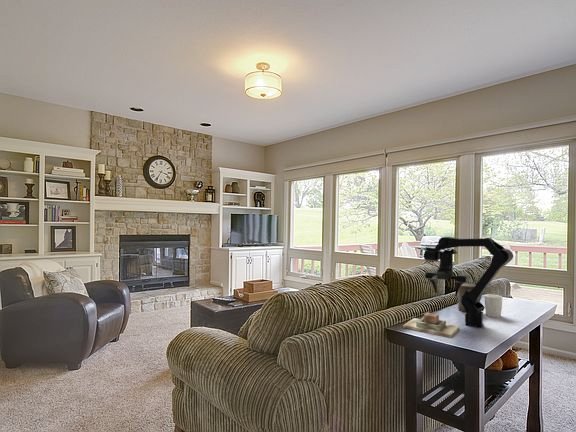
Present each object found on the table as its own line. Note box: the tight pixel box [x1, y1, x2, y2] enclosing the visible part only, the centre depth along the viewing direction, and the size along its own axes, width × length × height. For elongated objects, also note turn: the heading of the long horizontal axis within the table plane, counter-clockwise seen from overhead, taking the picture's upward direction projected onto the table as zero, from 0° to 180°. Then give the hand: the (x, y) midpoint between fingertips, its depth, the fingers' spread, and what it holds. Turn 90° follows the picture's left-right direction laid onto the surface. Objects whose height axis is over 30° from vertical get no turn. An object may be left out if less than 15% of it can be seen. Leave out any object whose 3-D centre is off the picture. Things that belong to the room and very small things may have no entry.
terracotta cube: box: [423, 311, 440, 325], centre depth 158 cm, size 5×5×5 cm
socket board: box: [402, 316, 460, 338], centre depth 158 cm, size 20×14×3 cm
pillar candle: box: [457, 282, 476, 313], centre depth 188 cm, size 10×10×15 cm
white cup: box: [484, 293, 503, 318], centre depth 179 cm, size 8×8×10 cm
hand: (446, 294), depth 173 cm, fingers open, 9 cm apart
